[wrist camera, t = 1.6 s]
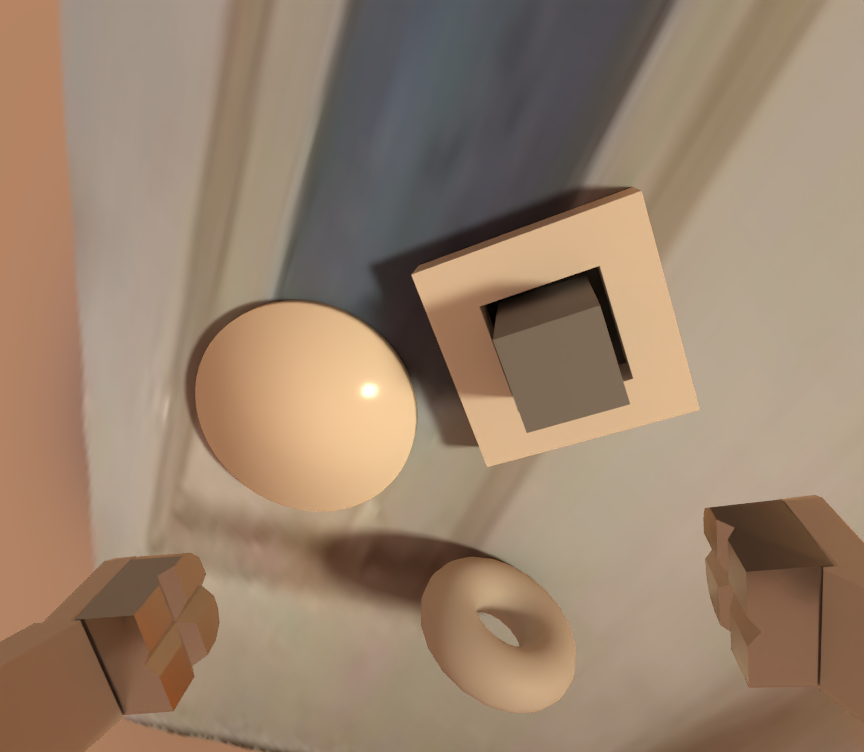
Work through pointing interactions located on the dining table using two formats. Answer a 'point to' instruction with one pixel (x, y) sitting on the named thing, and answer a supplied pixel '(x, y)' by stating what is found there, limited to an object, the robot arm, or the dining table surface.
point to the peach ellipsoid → (306, 405)
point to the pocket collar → (538, 265)
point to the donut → (485, 653)
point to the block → (558, 354)
